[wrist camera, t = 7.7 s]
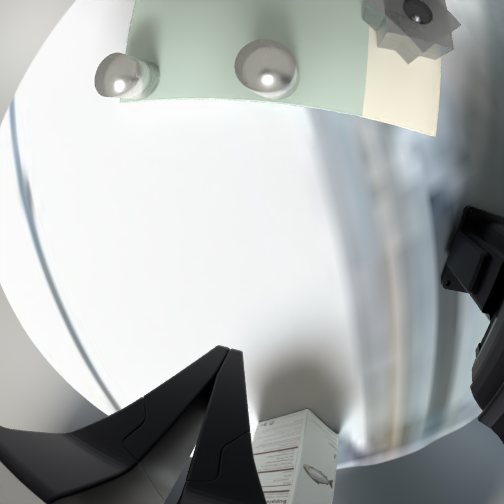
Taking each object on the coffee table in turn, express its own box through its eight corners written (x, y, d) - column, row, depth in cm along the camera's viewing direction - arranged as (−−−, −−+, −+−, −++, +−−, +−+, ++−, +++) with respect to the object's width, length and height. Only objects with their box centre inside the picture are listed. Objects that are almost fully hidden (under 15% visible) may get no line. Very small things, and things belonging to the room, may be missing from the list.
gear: (437, 5, 10) (453, -12, 7) (446, 74, 12) (467, 66, 9) (358, -13, 11) (363, -35, 8) (365, 56, 13) (373, 42, 10)
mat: (432, -18, 9) (435, -22, 8) (431, 136, 15) (435, 136, 14) (149, -30, 13) (144, -33, 12) (126, 102, 18) (119, 102, 17)
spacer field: (375, -41, 9) (382, -66, 6) (370, 116, 15) (382, 111, 11) (141, -32, 12) (117, -47, 9) (116, 101, 17) (84, 100, 14)
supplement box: (340, 434, 28) (331, 526, 16) (290, 446, 31) (271, 528, 19) (309, 406, 26) (291, 514, 15) (255, 421, 29) (226, 512, 18)
